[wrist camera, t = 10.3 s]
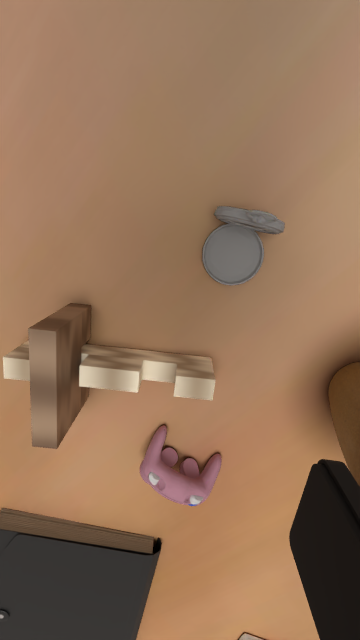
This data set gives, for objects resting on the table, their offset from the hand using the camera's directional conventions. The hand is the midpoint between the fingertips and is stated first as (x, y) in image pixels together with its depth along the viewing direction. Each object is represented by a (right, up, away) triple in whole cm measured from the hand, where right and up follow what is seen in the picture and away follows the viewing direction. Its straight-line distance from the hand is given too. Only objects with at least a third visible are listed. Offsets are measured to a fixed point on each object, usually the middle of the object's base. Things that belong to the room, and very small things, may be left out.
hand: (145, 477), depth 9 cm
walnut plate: (-11, +1, +29) cm, 31 cm away
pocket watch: (+7, +13, +25) cm, 29 cm away
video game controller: (+1, -13, +33) cm, 35 cm away
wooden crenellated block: (-6, 0, +29) cm, 30 cm away
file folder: (-17, -41, +41) cm, 60 cm away
